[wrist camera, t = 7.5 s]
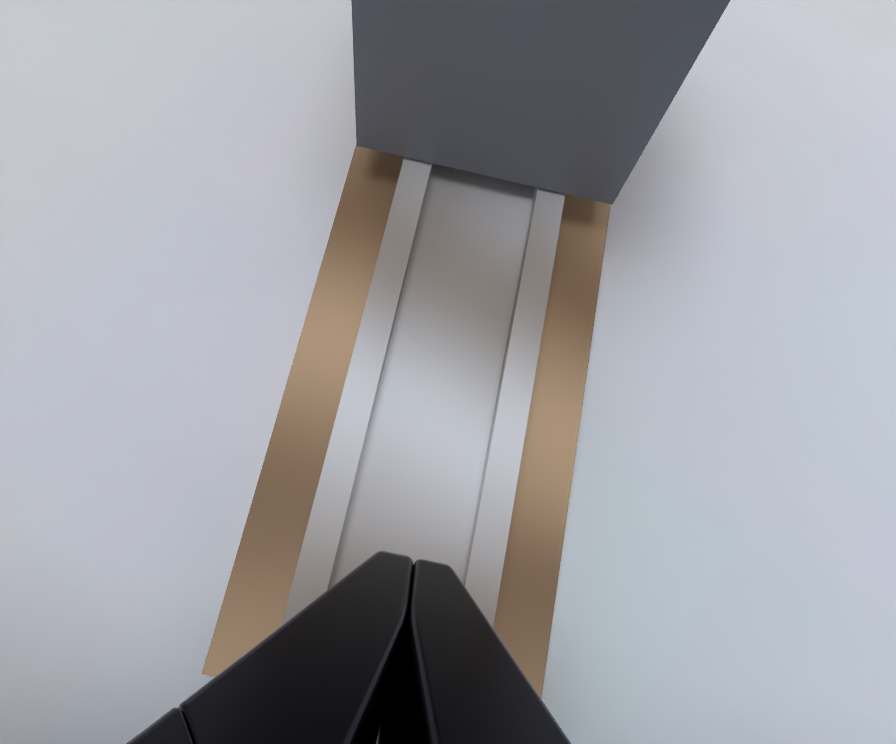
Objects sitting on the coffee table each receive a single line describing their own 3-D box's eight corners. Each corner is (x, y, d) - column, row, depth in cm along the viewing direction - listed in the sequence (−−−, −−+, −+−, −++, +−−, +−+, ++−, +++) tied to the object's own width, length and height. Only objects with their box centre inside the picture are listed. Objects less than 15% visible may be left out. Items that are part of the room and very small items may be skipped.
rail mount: (521, 732, 14) (613, 802, 9) (216, 668, 14) (117, 701, 8) (623, 39, 20) (714, -171, 14) (410, -11, 20) (424, -243, 14)
